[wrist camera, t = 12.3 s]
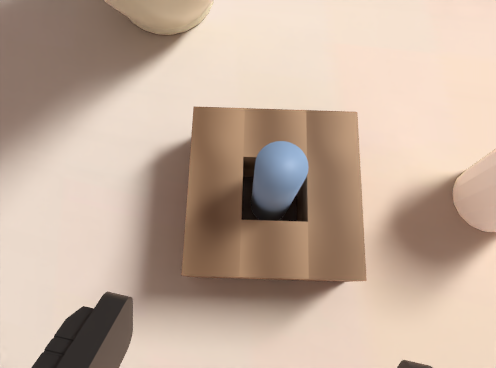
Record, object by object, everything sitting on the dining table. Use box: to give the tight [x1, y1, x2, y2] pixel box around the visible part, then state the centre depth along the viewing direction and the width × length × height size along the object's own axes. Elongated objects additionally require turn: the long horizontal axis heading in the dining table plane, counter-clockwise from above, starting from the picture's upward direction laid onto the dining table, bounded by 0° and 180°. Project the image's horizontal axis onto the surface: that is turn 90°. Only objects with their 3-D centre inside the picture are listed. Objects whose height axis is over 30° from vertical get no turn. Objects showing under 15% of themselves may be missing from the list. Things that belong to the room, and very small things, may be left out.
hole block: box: [181, 107, 366, 282], centre depth 28 cm, size 12×12×5 cm
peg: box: [251, 141, 308, 221], centre depth 26 cm, size 3×3×10 cm
